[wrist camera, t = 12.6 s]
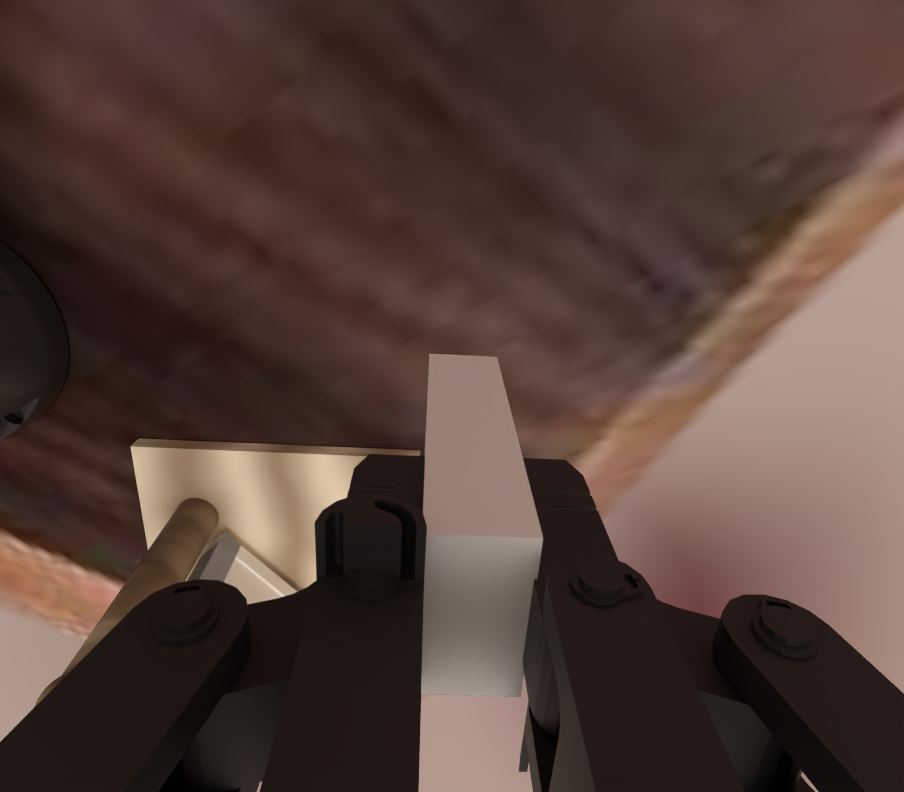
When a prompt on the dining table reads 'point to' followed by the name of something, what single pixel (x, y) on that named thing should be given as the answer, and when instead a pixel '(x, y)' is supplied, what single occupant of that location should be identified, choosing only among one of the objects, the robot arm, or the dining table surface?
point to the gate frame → (228, 511)
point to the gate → (239, 571)
